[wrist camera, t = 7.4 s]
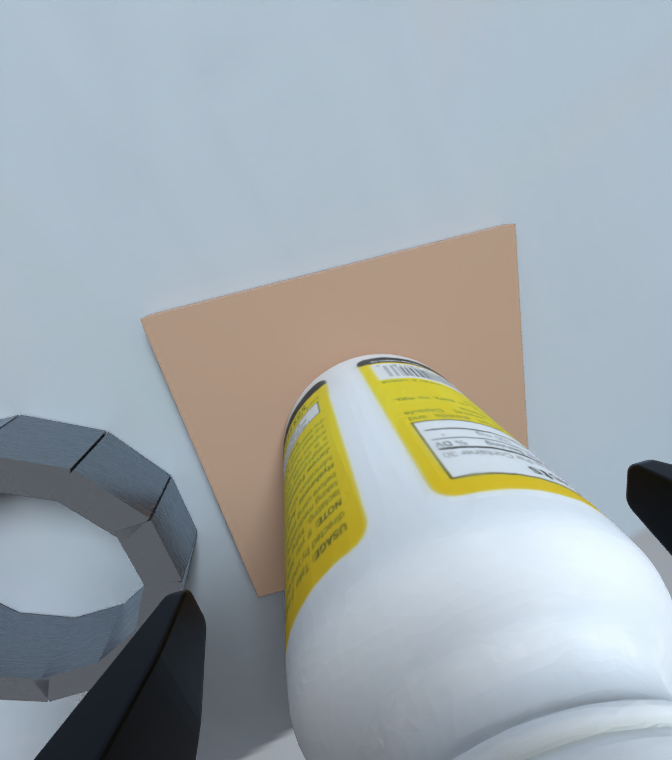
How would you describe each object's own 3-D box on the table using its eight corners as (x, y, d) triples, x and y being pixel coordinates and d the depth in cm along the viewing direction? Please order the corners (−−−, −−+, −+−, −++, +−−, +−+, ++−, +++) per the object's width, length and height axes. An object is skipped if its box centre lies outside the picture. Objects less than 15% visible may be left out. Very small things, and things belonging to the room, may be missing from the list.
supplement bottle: (326, 533, 13) (430, 1274, 4) (251, 396, 11) (63, 1245, 2) (478, 469, 13) (984, 1069, 3) (429, 318, 11) (1285, 778, 2)
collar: (129, 386, 11) (97, 416, 9) (227, 597, 14) (219, 652, 12) (-176, 465, 11) (-274, 513, 9) (-7, 663, 14) (-53, 730, 12)
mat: (503, 224, 11) (515, 223, 10) (522, 508, 14) (532, 519, 14) (147, 314, 10) (139, 319, 10) (259, 583, 14) (258, 597, 13)
